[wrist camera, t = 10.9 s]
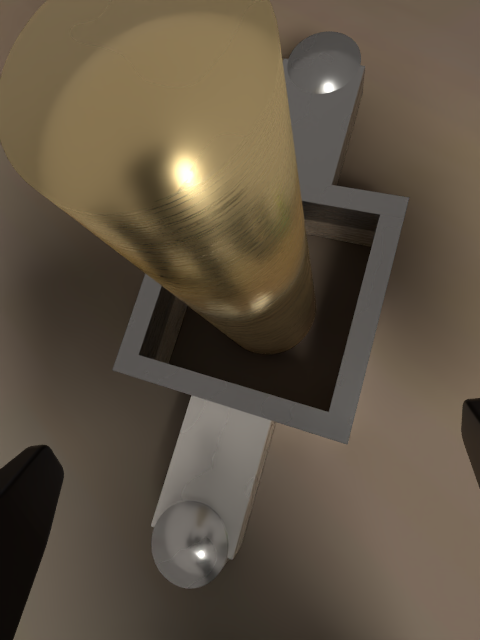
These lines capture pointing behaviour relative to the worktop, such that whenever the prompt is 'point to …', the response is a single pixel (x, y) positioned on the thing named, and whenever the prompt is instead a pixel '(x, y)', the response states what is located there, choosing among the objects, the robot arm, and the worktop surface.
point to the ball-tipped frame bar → (241, 402)
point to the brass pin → (171, 150)
